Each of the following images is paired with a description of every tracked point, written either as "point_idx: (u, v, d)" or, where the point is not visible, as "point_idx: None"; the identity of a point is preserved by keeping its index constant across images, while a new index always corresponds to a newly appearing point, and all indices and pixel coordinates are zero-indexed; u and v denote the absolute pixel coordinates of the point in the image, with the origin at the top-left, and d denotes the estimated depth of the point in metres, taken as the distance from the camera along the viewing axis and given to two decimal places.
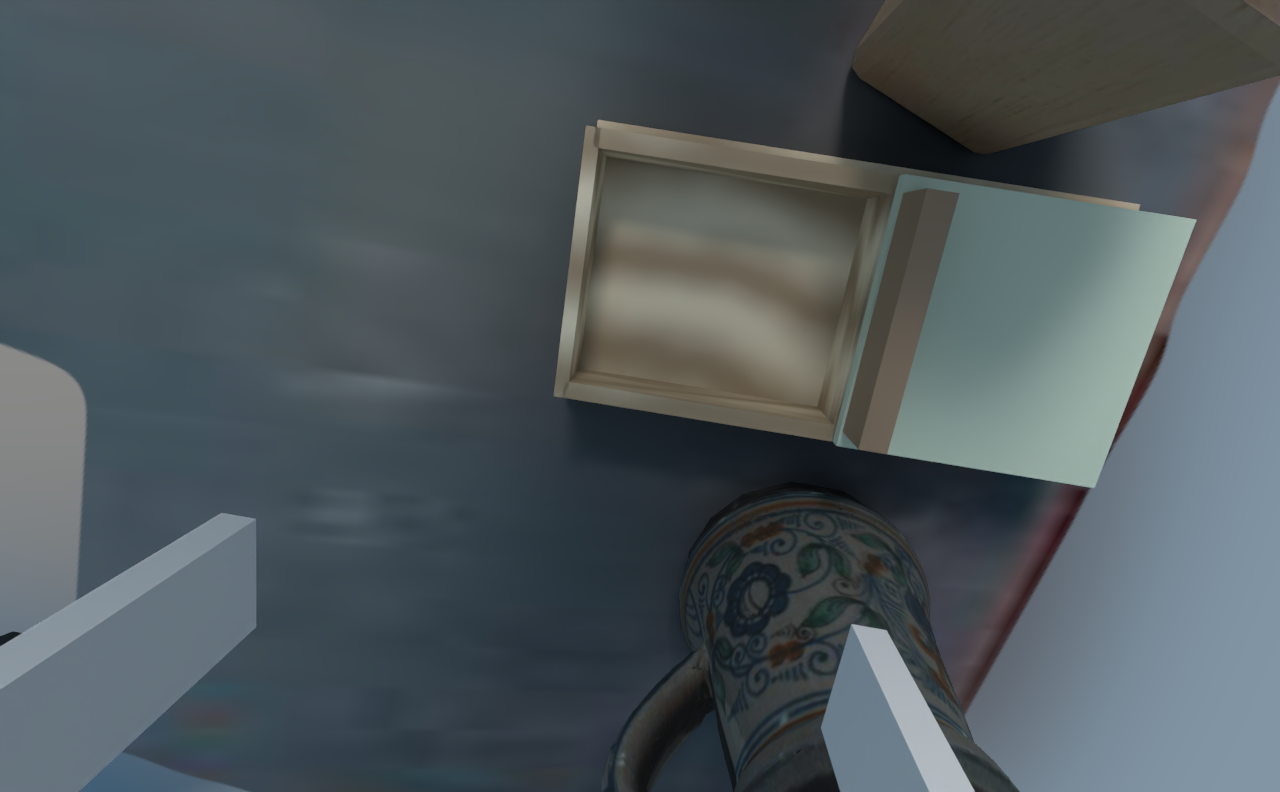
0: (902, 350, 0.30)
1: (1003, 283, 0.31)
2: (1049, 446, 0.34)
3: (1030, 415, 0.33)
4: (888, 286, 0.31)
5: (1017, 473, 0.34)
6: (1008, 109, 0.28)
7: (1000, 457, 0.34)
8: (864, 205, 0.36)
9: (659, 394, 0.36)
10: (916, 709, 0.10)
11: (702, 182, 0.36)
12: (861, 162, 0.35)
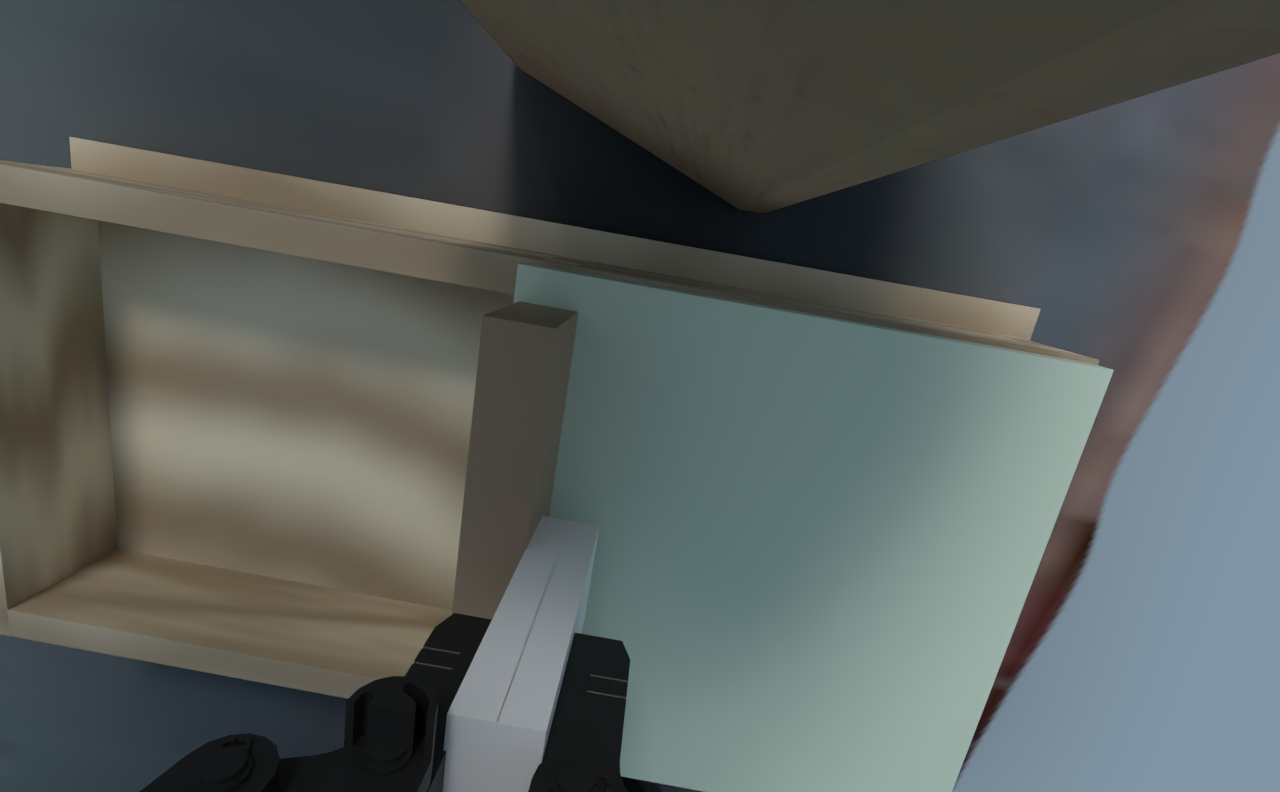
0: None
1: (736, 479, 0.16)
2: (848, 764, 0.18)
3: (808, 711, 0.18)
4: None
5: None
6: (690, 138, 0.12)
7: (760, 778, 0.18)
8: None
9: (179, 631, 0.20)
10: (574, 572, 0.13)
11: (268, 250, 0.20)
12: (541, 222, 0.19)
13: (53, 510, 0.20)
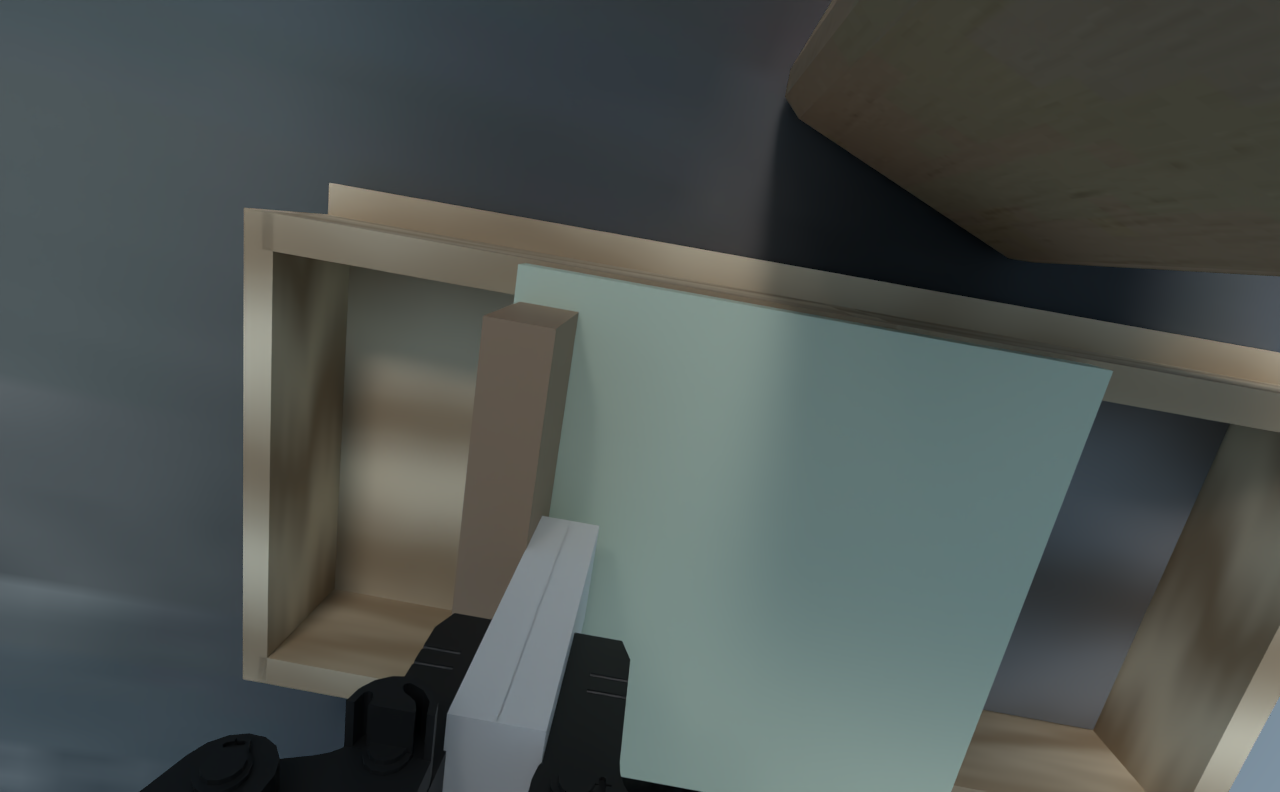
0: None
1: (736, 479, 0.16)
2: (847, 764, 0.18)
3: (808, 712, 0.18)
4: None
5: None
6: (1105, 213, 0.12)
7: (759, 778, 0.18)
8: None
9: None
10: (574, 572, 0.13)
11: None
12: (804, 270, 0.19)
13: (301, 555, 0.20)
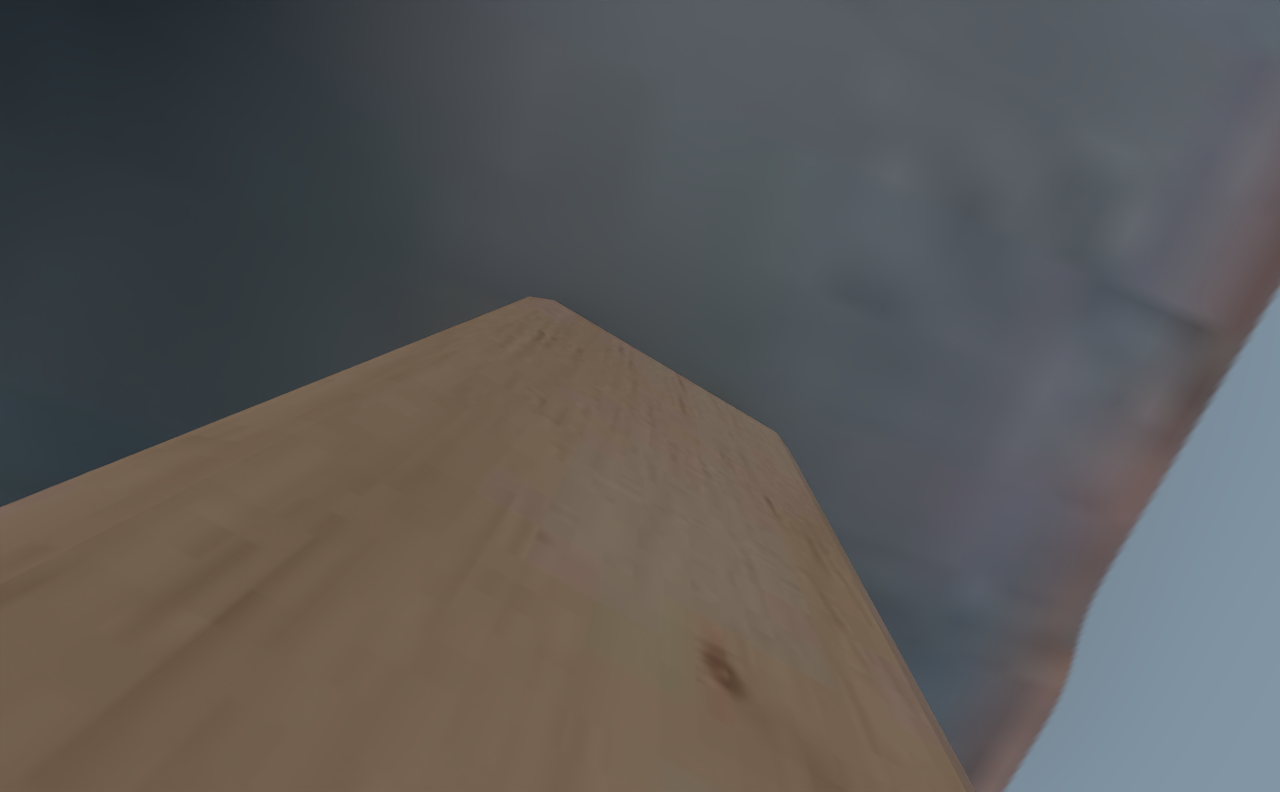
0: None
1: None
2: None
3: None
4: None
5: None
6: None
7: None
8: None
9: None
10: None
11: None
12: None
13: None
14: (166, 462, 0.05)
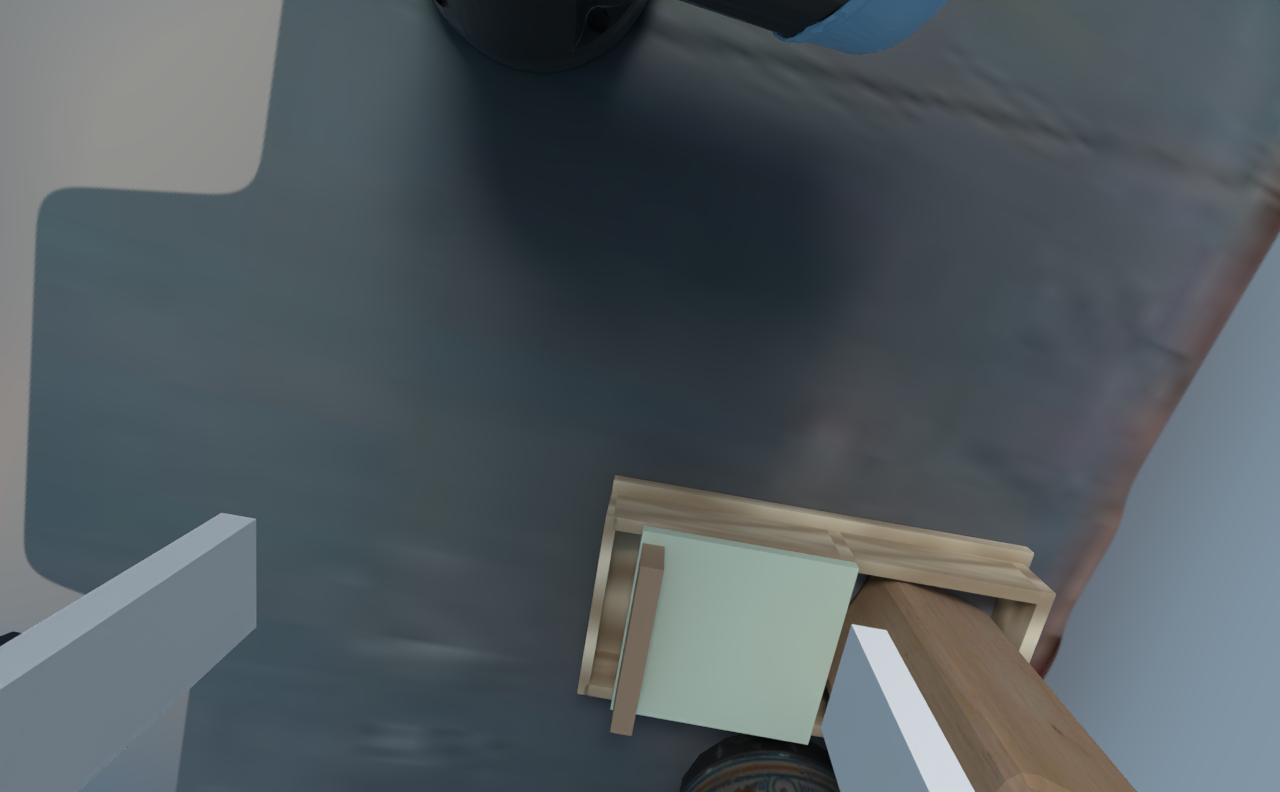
0: (634, 668, 0.40)
1: (723, 604, 0.42)
2: (770, 715, 0.44)
3: (753, 693, 0.43)
4: (630, 613, 0.41)
5: (748, 733, 0.44)
6: None
7: (734, 721, 0.44)
8: None
9: None
10: (916, 709, 0.10)
11: None
12: (818, 516, 0.45)
13: (597, 638, 0.46)
14: (981, 704, 0.31)
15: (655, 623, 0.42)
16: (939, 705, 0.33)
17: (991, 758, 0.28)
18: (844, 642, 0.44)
